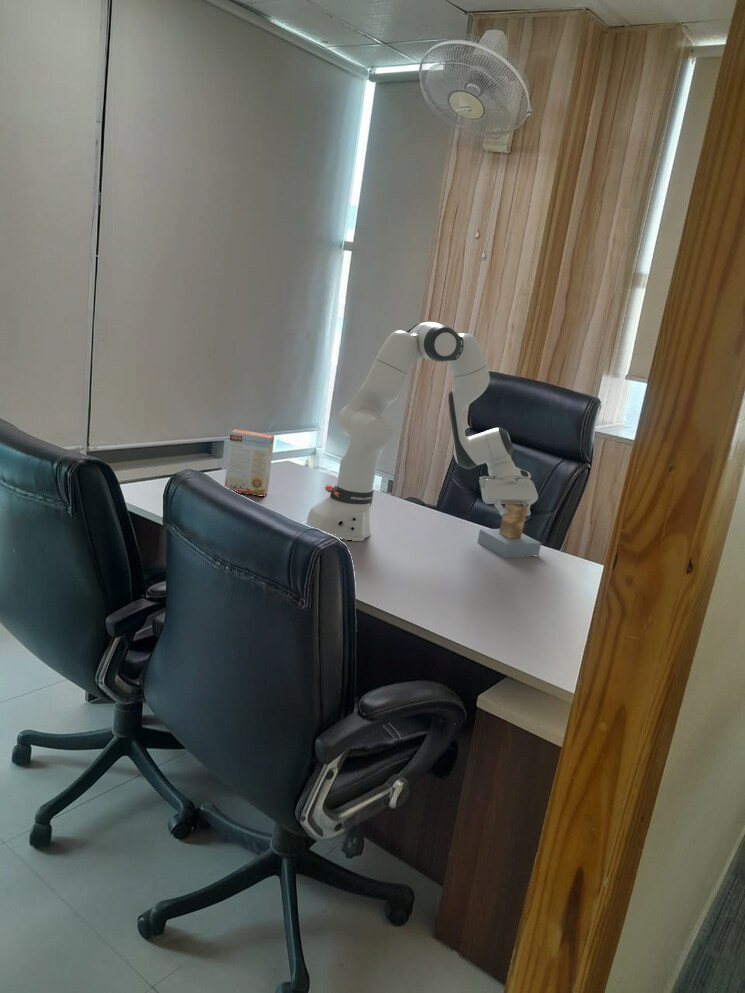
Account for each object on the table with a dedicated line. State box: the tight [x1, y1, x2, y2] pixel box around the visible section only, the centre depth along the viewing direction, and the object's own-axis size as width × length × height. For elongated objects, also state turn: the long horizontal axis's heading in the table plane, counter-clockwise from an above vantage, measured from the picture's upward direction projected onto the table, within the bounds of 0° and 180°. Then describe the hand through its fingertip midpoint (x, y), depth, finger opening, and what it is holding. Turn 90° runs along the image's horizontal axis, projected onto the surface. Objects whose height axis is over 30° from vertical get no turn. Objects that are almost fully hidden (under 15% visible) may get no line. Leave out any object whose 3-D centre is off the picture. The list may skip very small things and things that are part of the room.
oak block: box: [499, 503, 527, 539], centre depth 251 cm, size 5×5×10 cm
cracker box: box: [224, 428, 275, 497], centre depth 267 cm, size 14×6×21 cm, turn 84°
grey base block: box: [477, 528, 542, 559], centre depth 253 cm, size 14×14×5 cm
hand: (516, 514), depth 250 cm, fingers open, 8 cm apart
